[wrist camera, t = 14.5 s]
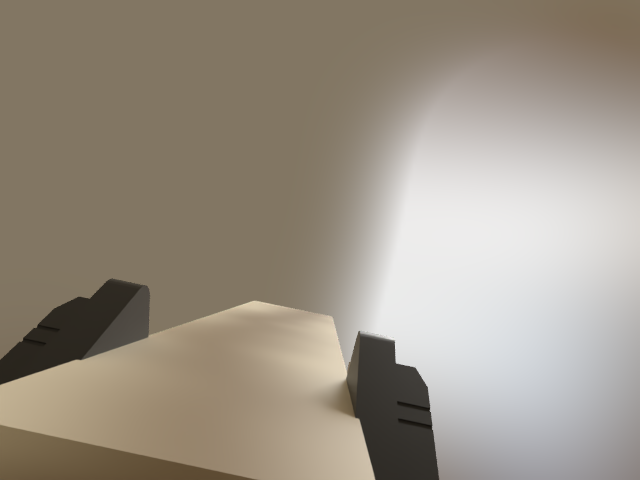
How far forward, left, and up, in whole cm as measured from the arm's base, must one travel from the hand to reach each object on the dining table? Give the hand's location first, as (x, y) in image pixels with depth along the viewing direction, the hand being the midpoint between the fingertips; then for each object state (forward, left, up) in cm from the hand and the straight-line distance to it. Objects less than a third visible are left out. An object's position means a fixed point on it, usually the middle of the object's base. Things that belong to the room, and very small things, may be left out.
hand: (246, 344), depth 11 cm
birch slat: (0, -6, -2) cm, 7 cm away
